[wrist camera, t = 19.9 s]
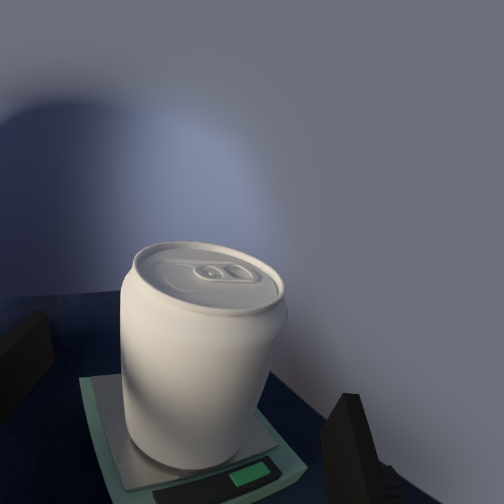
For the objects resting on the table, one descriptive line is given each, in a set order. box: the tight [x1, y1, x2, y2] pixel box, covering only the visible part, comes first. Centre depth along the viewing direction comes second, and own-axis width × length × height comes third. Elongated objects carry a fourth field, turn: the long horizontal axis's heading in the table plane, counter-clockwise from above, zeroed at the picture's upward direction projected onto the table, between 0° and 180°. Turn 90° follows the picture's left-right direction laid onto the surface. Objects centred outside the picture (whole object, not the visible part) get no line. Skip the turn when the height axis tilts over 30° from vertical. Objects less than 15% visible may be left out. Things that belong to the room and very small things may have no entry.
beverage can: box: [120, 241, 288, 470], centre depth 16 cm, size 8×8×12 cm
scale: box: [79, 377, 308, 504], centre depth 18 cm, size 13×13×4 cm
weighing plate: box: [91, 374, 279, 493], centre depth 18 cm, size 10×11×1 cm
